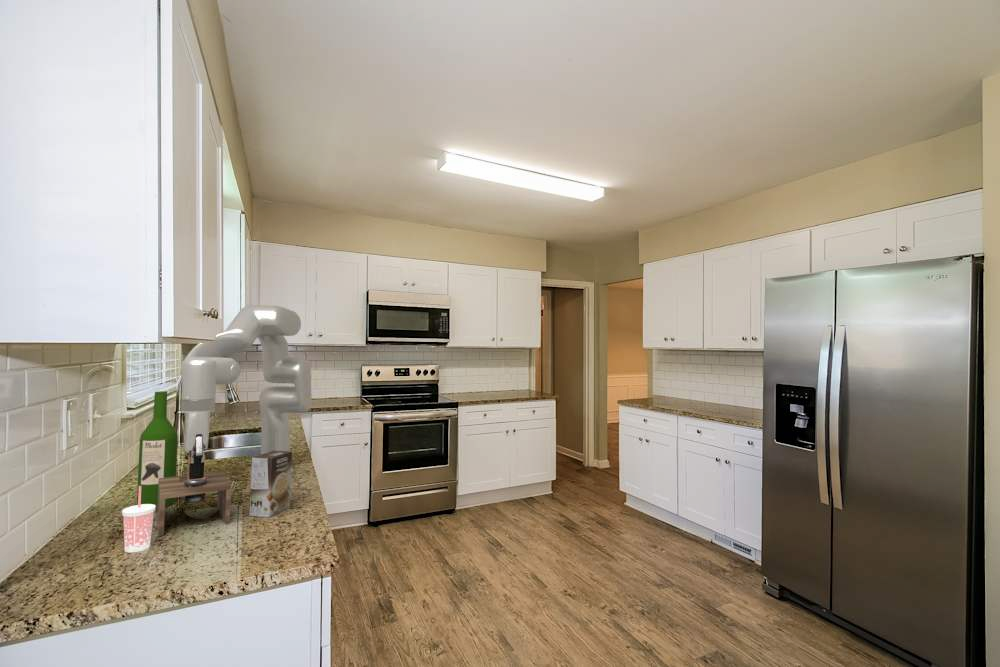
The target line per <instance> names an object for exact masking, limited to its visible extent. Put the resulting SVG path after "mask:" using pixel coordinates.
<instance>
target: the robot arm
mask: <svg viewBox="0 0 1000 667" xmlns="http://www.w3.org/2000/svg"><path fill="white" fill-rule="evenodd" d="M301 325H302V321H301V317H300V316H299V314H298V312H296V311H294V310H291V309H289V308H286V307H284V306H283V307H282V306H280V305H270V304H269V305H268V304H267V305H265V304H263V305H261V304H251V305H246V306H243V307H242V308H241V309H240V310H239V311H238V313H237V314H236V316H234V318H233V319H232V320H231V322H230V323H229V325H228V326H227V327H226V329H225V330H224V331H221V332H218V333H217V334H215V335H216V338H215V341H212V342H211V343H201V342H199V343H198V344H196V345H195V346H194V347H193V348H192V349H191V350H190V351H189V352H188V354H187V355H186V357H185V358H184V360H183V361H182V363H181V365H180V371H179V372H180V377H181V401H180V403H181V404H180V413H183V414H184V427H183V429H184V430H183V442H182V447H183V450H184V452H185V453H189V454H188V455H191V463H190V464H189V479H190V480H192V479H199V478H203V477H204V455H205V452H206V450H208V448H209V439H210V438H209V437H210V436H209V435H210V422H211V420H210V418H211V412H215V411H216V395H217V394H216V392H217V385H230V384H232V383H234V382H236V381H237V380H238V379H239V377H240V375H241V366H240V363H239V362H238V361H237V360H236V359H233V358H231V357H229V356H234V355H236V354H239V353H240V354H241V353H242V352H246V351H247V350H249V349H250V348H251V347H252V346H253V344H254V343H255V342H256V340H259V342H260V346H261V352H262V353H261V354H262V355H261V356H262V358H261V359H262V375H263V379H264V380H265V382H267V383H270V384H271V383H272V384H293V385H294V386H288V385H285V386H283V385H280V386H279V385H276V386H275V385H274V386H267V387H264V389H262V390H261V392H260V394H259V398H258V399H259V400H258V401H259V402H258V403H259V407H260V414H261V416H260V417H261V426H260V428H261V432H260V454H264V453H267V452H271V451H289V452H290V444H291V443H290V442H291V423H290V420H289V418H288V416H287V415H286V414H288V413H289V414H293V413H294V414H296V413H297V414H298V413H299V414H302V413H306V412H308V411H309V410H310V408H311V405H312V395H313V394H312V372H311V371H312V369H311V364H310V362H309V361H308V359H306V358H304V357H301V356H300V357H298V356H295V357H294V356H293V357H292V356H290V355H289V343H288V340H287V339H286V337H289V336H290V337H294V336H296V335H297V334H298V333H299V332H300V330H301V327H302V326H301ZM293 473H294V468H293V467H292V468H291V475H292V474H293Z"/></svg>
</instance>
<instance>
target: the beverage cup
mask: <svg viewBox="0 0 1000 667" xmlns="http://www.w3.org/2000/svg"><path fill="white" fill-rule="evenodd" d="M155 507H156V505H154V504H141V486H139V494H138V505H137V504H136V505H131V506H128V507H125V508H123V509H122V511H121V513H122V517H123V541H124V543H123V545H124V547H123V548H124V552H125V553H139V552H143V551H145V550H147V549H149V548H150V547H151V540H152V539H151V538H152V531H153V521H154V514H155V511H156V510H155Z"/></svg>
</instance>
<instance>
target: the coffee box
mask: <svg viewBox="0 0 1000 667" xmlns="http://www.w3.org/2000/svg"><path fill="white" fill-rule="evenodd" d="M292 462H293V451H290V450H289V451H271V452H267V453H264V454H261V453H260V454H256V455H253V456H251V471H250V472H251V473H250V496H249V514H248V515H249V516H250V517H260V518H267V519H268V518H270V517H273V516H275V515H278V514H279V513H281V512H284V511H286V510H288V509H290V507H291V491H292V490H291V489H292V488H291V486H292V485H291V484H292V474H291V468H293V467H292V464H293V463H292Z"/></svg>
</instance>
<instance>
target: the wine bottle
mask: <svg viewBox="0 0 1000 667" xmlns="http://www.w3.org/2000/svg"><path fill="white" fill-rule="evenodd" d="M153 401H154V402H153V414H152V420H151V421H150V422H149V424H148V425H147V426H146V428H145V429H144V430H143V431H142V432H141V433H140V436H139V448H138V472H137V477H138V478H137V492H136V493H137V495H136V498H137V499H136V505H138V494H139V486H141V504H154V505H156V507H155V511H157V505H158V481H159V478H166V477H174V476H177V466H178V465H177V462H178V438H179V437H178V432H177V429H176V428H175V427H174V425H173V424H172V423H171V422H170V421H169V419H168V416H167V413H168V412H167V411H168V410H167V409H168V392H167V391H155V392H154V400H153ZM175 502H176V497H174V498H167V499H165V508H168V507H171V506H173V505H174V504H175Z"/></svg>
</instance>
